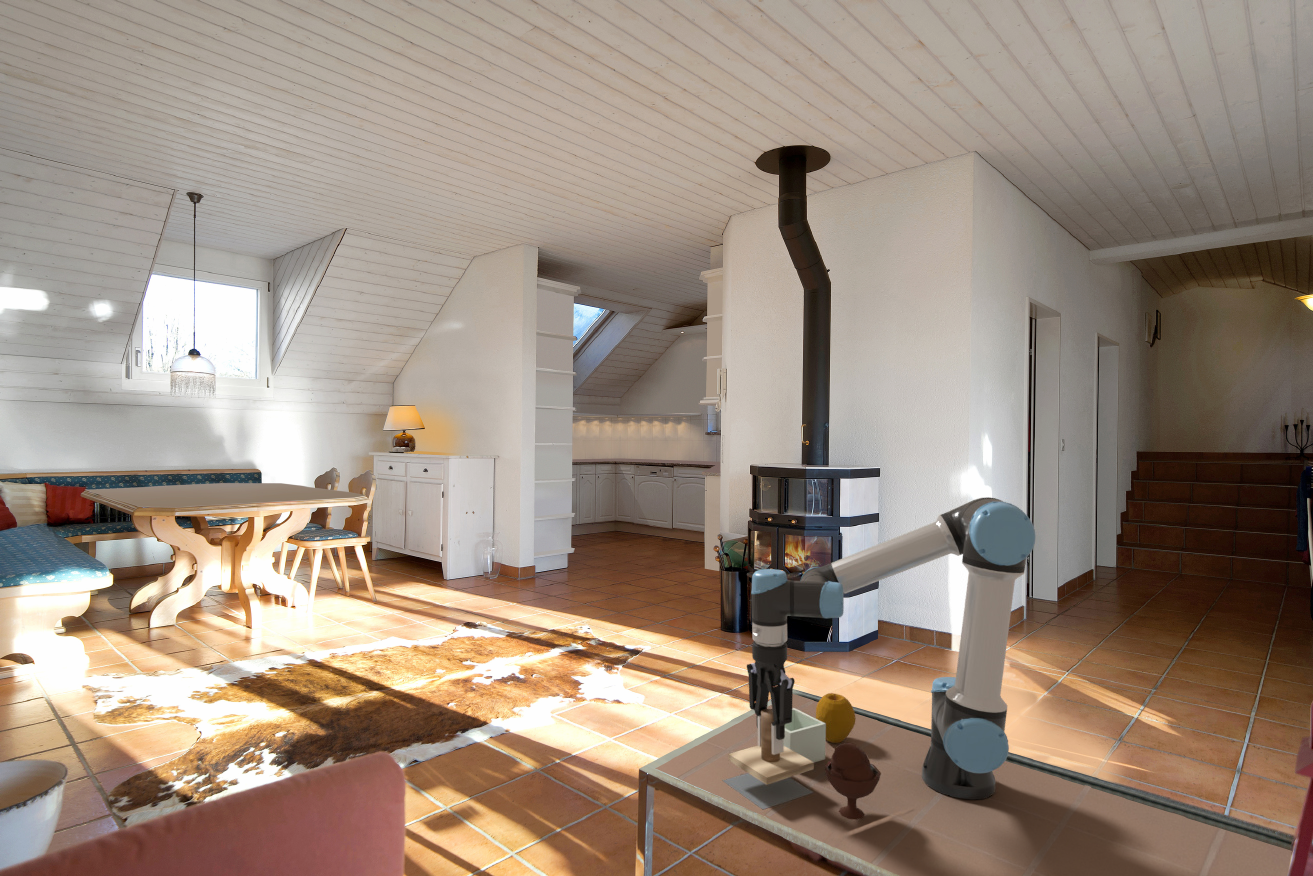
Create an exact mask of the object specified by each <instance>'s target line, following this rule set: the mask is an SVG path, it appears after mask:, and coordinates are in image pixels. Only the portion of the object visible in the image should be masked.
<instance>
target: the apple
mask: <svg viewBox="0 0 1313 876" xmlns="http://www.w3.org/2000/svg"><path fill="white" fill-rule="evenodd" d="M855 713H856V712H855V710H854V708H853V705H852V704H851V702H850V700H848V698H847V697H845V696H843V695H841V694H839V693H833V692H830V693H829V692H828V693H826V694H824V695H823V696H822V697H821V698H820V699H819V701H818V702H817V704H816V707H815V719H817V720H819V721H821V722H823V723H825V724H826V741H828V742H829V743H832V744H840V743H842V742H843V741H845V740H846V739H847V737H848V736H849V735H850V733H851V732H852V730H853V729H854V726H855V725H856V714H855Z"/></svg>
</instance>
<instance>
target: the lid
mask: <svg viewBox="0 0 1313 876" xmlns="http://www.w3.org/2000/svg"><path fill="white" fill-rule="evenodd" d="M779 718H780V717H779ZM772 722H774V718H773V710H772V708H767V709H764V710H762V711H761V747H759V746H758V744H757V745H755V746H754V745H753V746H751V747H747V748H745V749H741V750H737V751H734V752H731V753H728V761H729V762H730V763H731V764H733V765H735V766H736V767H737V768H739V769H741V770H743V771H744V772H746V773H749V774H750V775H752V776H753V777H755V778H757V779H758V780H760V781H761V782H763V783H764V784H766V785H768V784H771V783H774V782H777V781H780V780H783V779H786V778H789V777H790V778H792V777H794V776H797V775H801V774H803V773H806V772H809V771H812V770H814V767H815V765H814V764H815V762H812V761H811V760H809V759H807V758H805V757H803V756H801V755H800V754H798V753H796V752H794V751H792V750H791V749H789V748H787V747H785V746H784V752H782V753H778V754H775V755H773V754H772V740H771V723H772Z"/></svg>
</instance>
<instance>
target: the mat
mask: <svg viewBox="0 0 1313 876" xmlns="http://www.w3.org/2000/svg"><path fill="white" fill-rule="evenodd" d="M722 781H723V783H725V784H726V785H727V786H729V787H731V788H732V789H733V790H735V791H736V792H738V793H739V794H740V795H742V796H743V797H745V799H748V800H749V801H750V802H751V803H753V804H754V805H755V806H757V807H759V808H760V809H761V810H766V809H768V808H771V807H774V806H777V805H781V804H784V803H787V802H790V801H792V800H796V799H799V798H802V797H805V796H808V795H811V794H814V793H815V792H814V791H812V790H811V789H810V788H807V787H806V786H804V785H802V784H801V783H800V782H798V781H796V780H795V779H793V778H792V777H789V778H786V779H783V780H780V781H777V782H774V783H771V784H768V785H766V784H764V783H763V782H761V781H760V780H758V779H757V778H755V777H753V776H752V775H750V774H749V773H747V772H746V773H743V774H740V775H737V776H733V777H730V778H726V779H724V780H722Z"/></svg>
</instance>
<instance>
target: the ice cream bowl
mask: <svg viewBox="0 0 1313 876" xmlns="http://www.w3.org/2000/svg"><path fill="white" fill-rule="evenodd" d="M868 756H869V755H867V753H865V751H863V750H862V749H861V748H860V747H858V746H857V745H856V744H855V743H852V742H849V743H848V742H844V743H842V744H841V743H840V744H839V745H837V746H836V747H835V748H834V751H833V753H832V755H831V759H829V760H828V761H827V762H826V764H825V765H824V767H823V768H824V772H825V776H826V778H827V780H828V782H829V784H830V785H831V786H832V788H833V789H834V790H835V791H836V793H838V794H840V795H841V796H843V797H846V799H847V803H846V804H847V805H846V806H845V805H844V806H843V807H840V808H839V810H838V812H839V814H840V815H841V816H842V817H844V818H845V819H848V820H855V821H857V820H860V819H861V820H862V819H863V818H864V817H865V813H864V811H863V810H862V809H860V808H858V807H857V799H861V798H864V797H867V796H869V795H870V794H872V793H873V792H874V791H875V789H876V787H877V785H878V783H879V781H880V779H881V774H882V772H881V771H880V769H878V768H877V767H876V765H875V764H873V763H871V762H870V759H869V757H868Z"/></svg>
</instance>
